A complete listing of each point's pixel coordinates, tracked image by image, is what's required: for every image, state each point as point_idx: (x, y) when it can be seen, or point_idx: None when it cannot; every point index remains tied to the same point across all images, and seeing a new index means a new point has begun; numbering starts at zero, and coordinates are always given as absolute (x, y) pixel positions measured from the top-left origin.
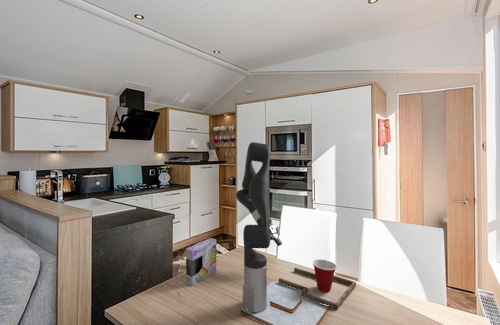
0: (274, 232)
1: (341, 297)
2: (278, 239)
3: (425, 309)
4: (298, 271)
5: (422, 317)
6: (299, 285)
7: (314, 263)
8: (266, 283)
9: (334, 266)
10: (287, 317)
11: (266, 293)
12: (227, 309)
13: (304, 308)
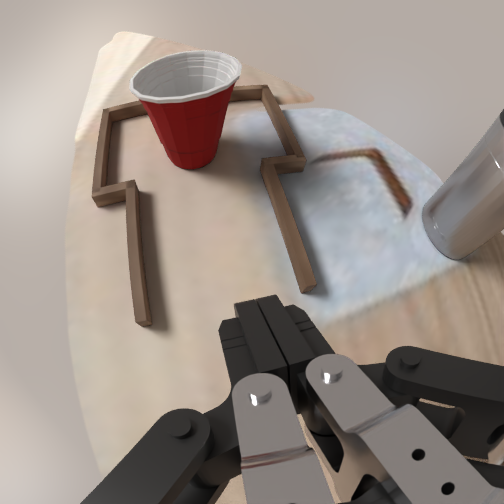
0: (318, 480)
1: None
2: (281, 338)
3: (127, 47)
4: (145, 295)
5: (158, 41)
6: (276, 186)
7: (197, 100)
8: (465, 158)
9: (152, 70)
10: (393, 148)
11: (448, 178)
12: (498, 262)
13: (335, 138)
